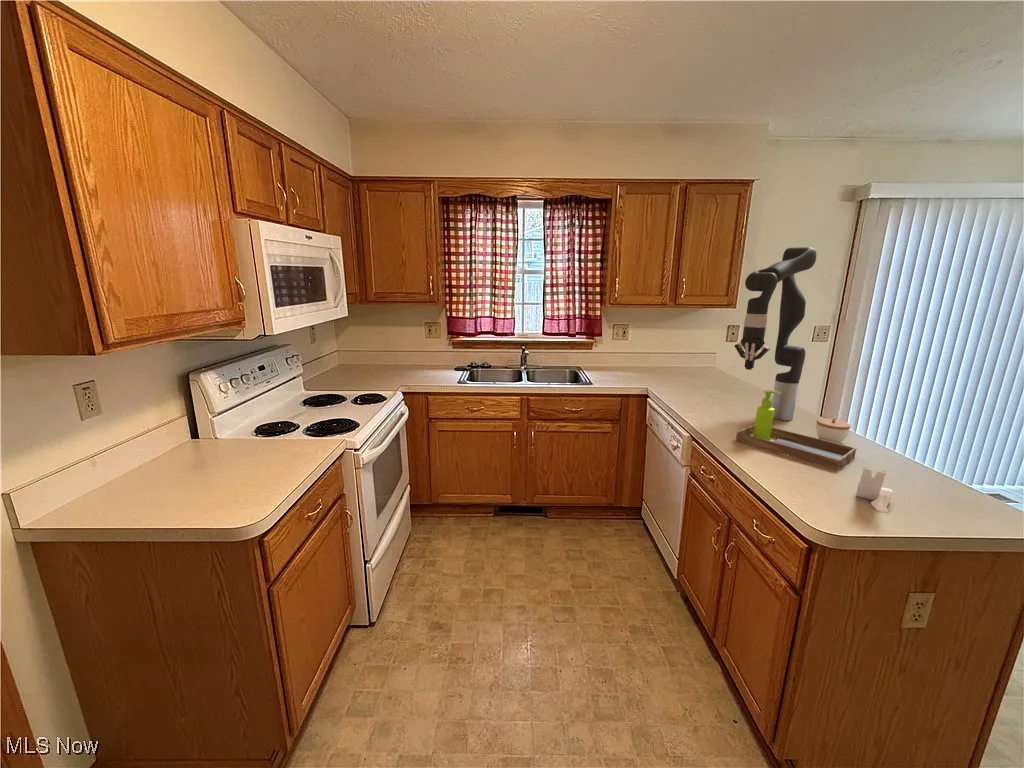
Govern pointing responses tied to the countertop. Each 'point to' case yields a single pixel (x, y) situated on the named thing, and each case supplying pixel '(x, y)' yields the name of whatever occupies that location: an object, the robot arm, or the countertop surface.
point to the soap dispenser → (764, 417)
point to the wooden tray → (801, 447)
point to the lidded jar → (832, 430)
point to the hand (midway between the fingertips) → (748, 369)
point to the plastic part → (874, 489)
